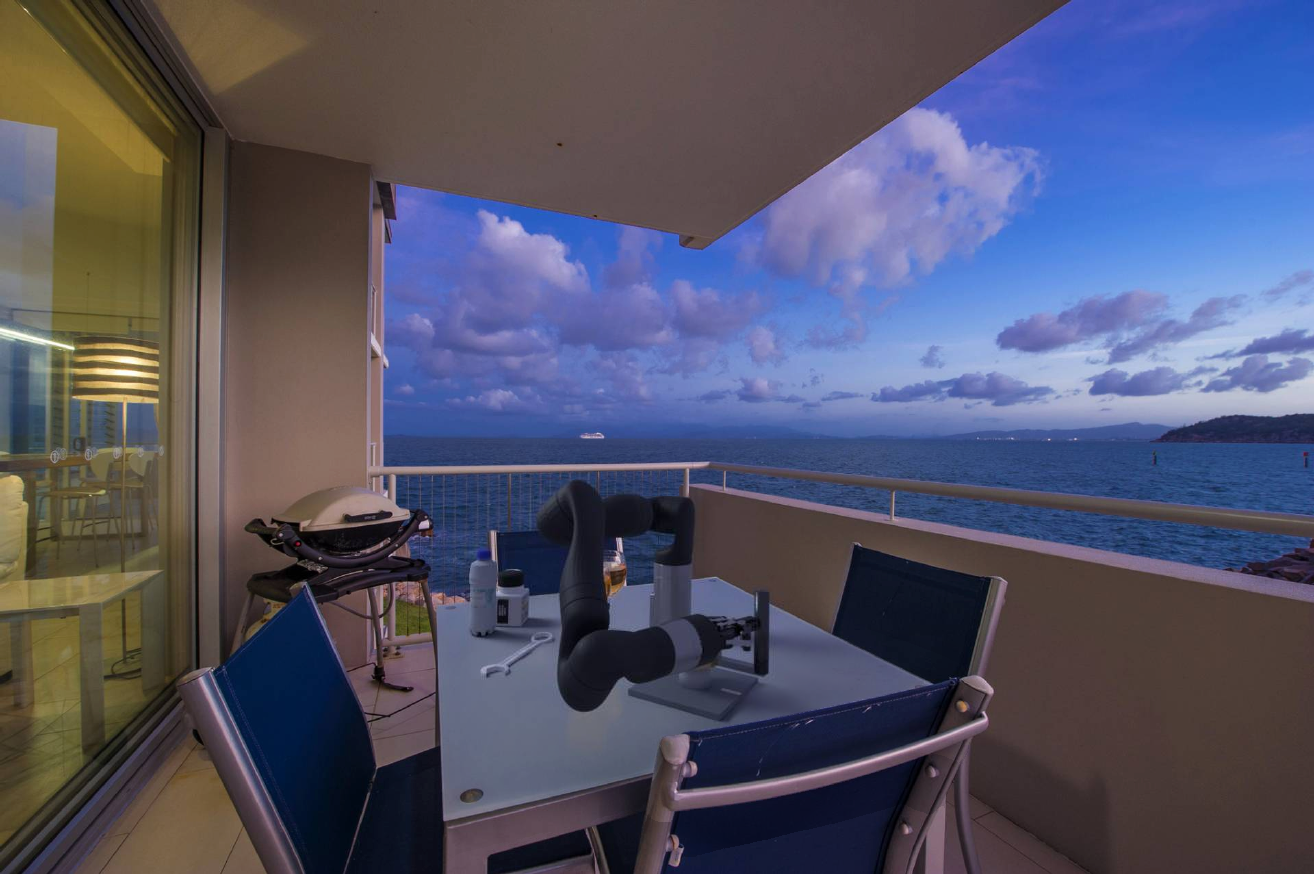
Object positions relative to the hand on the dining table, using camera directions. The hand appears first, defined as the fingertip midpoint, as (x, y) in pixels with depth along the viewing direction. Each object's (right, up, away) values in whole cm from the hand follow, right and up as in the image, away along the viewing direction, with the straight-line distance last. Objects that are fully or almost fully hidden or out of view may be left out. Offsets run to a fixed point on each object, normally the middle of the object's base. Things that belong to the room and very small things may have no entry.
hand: (754, 622), depth 95 cm
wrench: (-46, -16, +24) cm, 54 cm away
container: (-54, -16, +47) cm, 73 cm away
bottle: (-59, -15, +37) cm, 71 cm away
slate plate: (-10, -15, +8) cm, 20 cm away
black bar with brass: (-5, -10, +6) cm, 13 cm away
